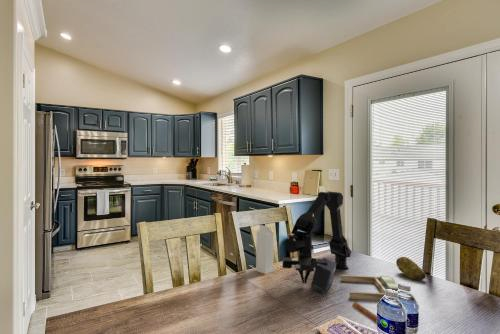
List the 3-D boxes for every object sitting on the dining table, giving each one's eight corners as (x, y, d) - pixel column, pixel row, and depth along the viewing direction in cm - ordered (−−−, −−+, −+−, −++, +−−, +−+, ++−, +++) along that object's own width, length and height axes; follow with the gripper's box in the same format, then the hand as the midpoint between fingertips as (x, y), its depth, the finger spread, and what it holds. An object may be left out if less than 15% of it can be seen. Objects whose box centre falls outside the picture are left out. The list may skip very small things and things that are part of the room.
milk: (265, 274, 138) (265, 228, 137) (255, 270, 142) (256, 226, 141) (273, 270, 142) (274, 226, 141) (263, 267, 146) (264, 223, 145)
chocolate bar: (375, 324, 98) (376, 318, 98) (351, 307, 109) (351, 301, 109) (381, 323, 99) (382, 316, 99) (356, 306, 110) (356, 300, 110)
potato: (411, 282, 130) (411, 265, 130) (392, 271, 143) (393, 255, 142) (427, 281, 131) (428, 264, 131) (408, 270, 144) (409, 254, 144)
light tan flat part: (341, 280, 132) (341, 271, 132) (391, 282, 130) (392, 274, 129) (350, 298, 115) (350, 288, 115) (408, 302, 113) (409, 291, 113)
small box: (325, 294, 118) (330, 270, 117) (310, 287, 122) (315, 264, 120) (332, 284, 127) (337, 262, 126) (318, 278, 131) (323, 256, 129)
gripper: (282, 252, 118) (282, 290, 118) (330, 254, 116) (329, 293, 116) (282, 244, 129) (282, 278, 129) (326, 246, 127) (325, 281, 127)
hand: (304, 283), depth 125 cm, fingers closed
